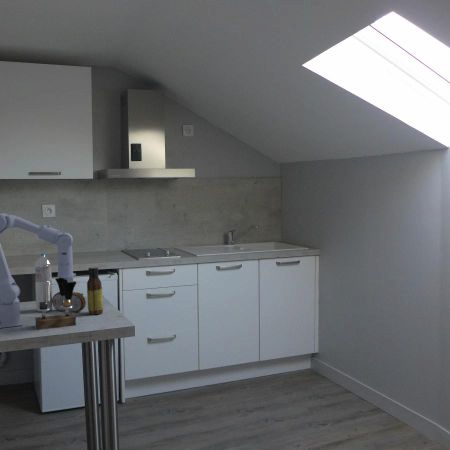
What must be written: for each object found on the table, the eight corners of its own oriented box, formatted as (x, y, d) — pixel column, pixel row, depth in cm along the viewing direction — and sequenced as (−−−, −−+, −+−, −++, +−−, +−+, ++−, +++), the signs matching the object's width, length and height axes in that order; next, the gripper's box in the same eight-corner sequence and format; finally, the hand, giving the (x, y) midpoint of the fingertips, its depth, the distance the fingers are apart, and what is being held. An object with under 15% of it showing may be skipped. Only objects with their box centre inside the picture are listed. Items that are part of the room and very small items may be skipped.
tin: (86, 311, 260) (85, 292, 259) (82, 313, 257) (82, 293, 256) (55, 309, 264) (54, 290, 263) (51, 311, 261) (50, 291, 260)
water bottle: (53, 311, 259) (52, 254, 257) (36, 313, 257) (35, 254, 254) (51, 308, 265) (50, 252, 263) (35, 309, 263) (34, 252, 261)
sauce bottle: (104, 311, 260) (103, 265, 258) (101, 315, 254) (101, 268, 252) (88, 311, 260) (88, 265, 258) (86, 315, 253) (85, 268, 252)
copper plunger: (62, 318, 235) (61, 301, 235) (59, 315, 240) (58, 299, 239) (75, 316, 238) (74, 300, 237) (71, 313, 242) (71, 298, 241)
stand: (39, 329, 230) (39, 321, 230) (35, 325, 236) (35, 317, 236) (75, 325, 237) (75, 317, 237) (71, 321, 243) (71, 313, 243)
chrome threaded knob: (38, 320, 231) (38, 304, 230) (35, 317, 235) (35, 301, 235) (51, 319, 233) (51, 302, 233) (48, 316, 238) (48, 300, 237)
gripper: (80, 265, 233) (81, 299, 235) (70, 260, 246) (71, 293, 247) (62, 266, 230) (63, 301, 231) (53, 261, 243) (53, 294, 244)
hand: (66, 297), depth 239 cm, fingers open, 7 cm apart
